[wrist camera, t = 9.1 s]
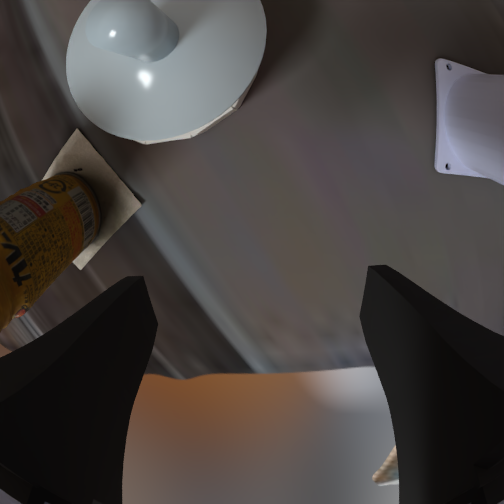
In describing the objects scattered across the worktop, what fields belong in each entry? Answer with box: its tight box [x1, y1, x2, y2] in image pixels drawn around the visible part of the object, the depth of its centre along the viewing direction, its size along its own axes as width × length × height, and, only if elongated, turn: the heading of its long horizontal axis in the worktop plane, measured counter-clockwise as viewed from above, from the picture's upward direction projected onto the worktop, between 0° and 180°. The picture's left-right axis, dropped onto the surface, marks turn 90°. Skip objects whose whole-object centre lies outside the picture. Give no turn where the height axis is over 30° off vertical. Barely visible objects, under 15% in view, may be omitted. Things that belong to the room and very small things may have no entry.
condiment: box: [0, 129, 142, 332], centre depth 13 cm, size 7×8×12 cm
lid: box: [66, 0, 267, 141], centre depth 8 cm, size 10×10×5 cm
